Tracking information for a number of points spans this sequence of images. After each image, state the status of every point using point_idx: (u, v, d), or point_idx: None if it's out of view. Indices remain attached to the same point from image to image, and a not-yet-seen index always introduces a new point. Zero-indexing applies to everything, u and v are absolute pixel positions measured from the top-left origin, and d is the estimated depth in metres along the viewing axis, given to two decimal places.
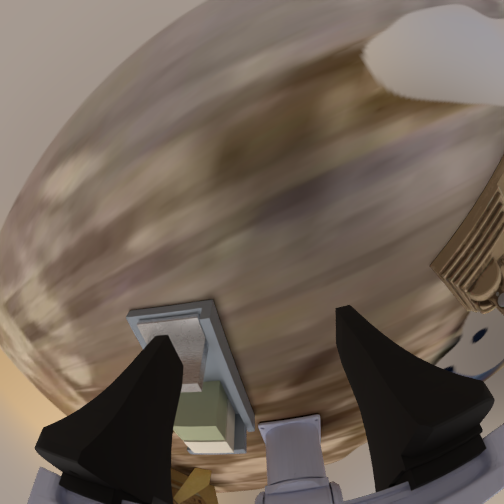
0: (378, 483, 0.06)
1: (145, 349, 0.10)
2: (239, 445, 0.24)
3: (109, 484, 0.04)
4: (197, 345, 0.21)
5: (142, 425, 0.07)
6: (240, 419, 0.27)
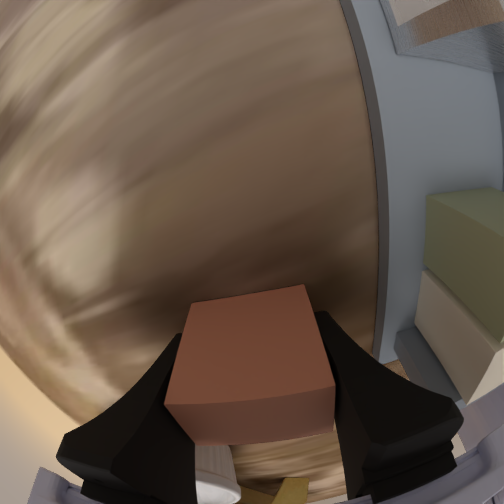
0: (349, 491, 0.06)
1: (168, 347, 0.10)
2: None
3: (140, 491, 0.04)
4: None
5: (169, 426, 0.07)
6: None
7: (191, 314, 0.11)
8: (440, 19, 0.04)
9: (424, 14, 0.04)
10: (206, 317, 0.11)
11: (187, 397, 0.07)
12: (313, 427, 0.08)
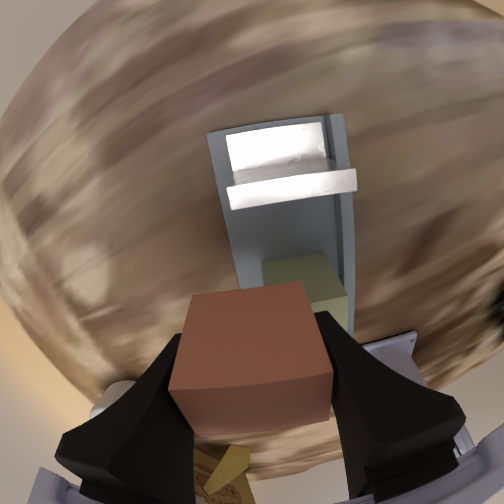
0: (350, 491, 0.06)
1: (166, 348, 0.10)
2: None
3: (138, 491, 0.04)
4: (320, 160, 0.15)
5: (167, 426, 0.07)
6: None
7: (192, 306, 0.12)
8: None
9: (231, 177, 0.14)
10: (207, 308, 0.11)
11: (191, 382, 0.08)
12: (310, 415, 0.08)
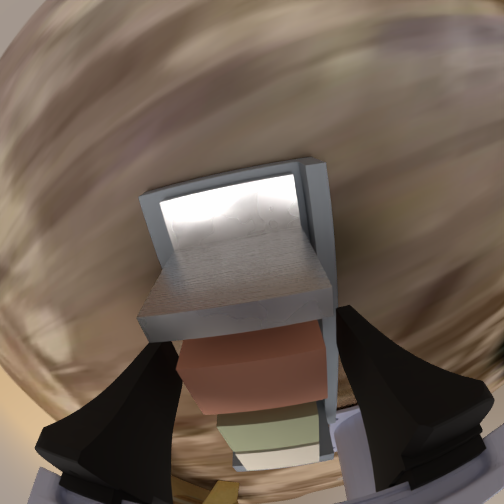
0: (378, 483, 0.06)
1: (145, 349, 0.10)
2: (325, 448, 0.13)
3: (109, 484, 0.04)
4: (290, 234, 0.11)
5: (142, 425, 0.07)
6: (317, 405, 0.17)
7: None
8: None
9: None
10: None
11: (197, 362, 0.09)
12: (309, 392, 0.09)
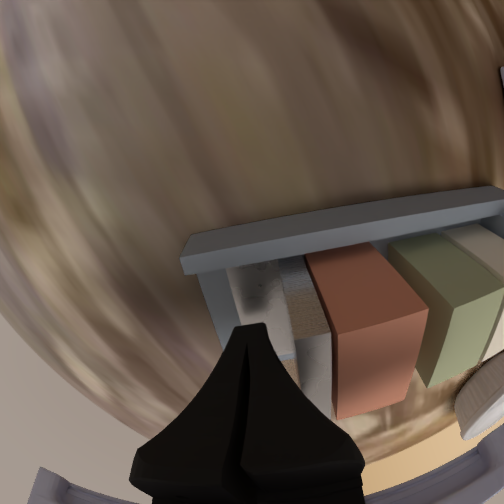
0: None
1: (232, 341, 0.10)
2: None
3: (238, 500, 0.04)
4: (281, 280, 0.11)
5: (246, 424, 0.07)
6: (490, 218, 0.10)
7: None
8: None
9: None
10: None
11: (335, 406, 0.09)
12: (408, 331, 0.07)
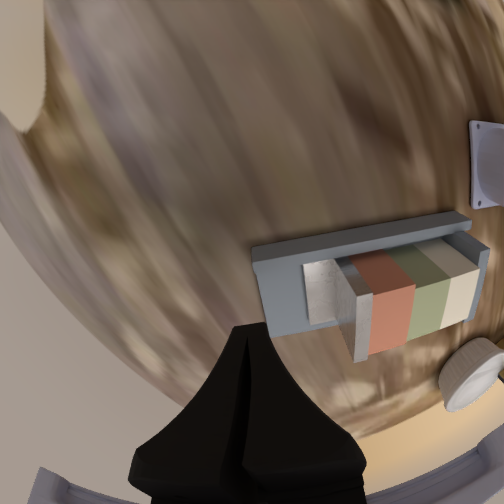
0: None
1: (231, 341, 0.10)
2: (475, 254, 0.15)
3: (236, 500, 0.04)
4: (337, 270, 0.18)
5: (245, 425, 0.07)
6: (448, 235, 0.18)
7: None
8: None
9: (342, 333, 0.19)
10: None
11: None
12: (405, 296, 0.15)
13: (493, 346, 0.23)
